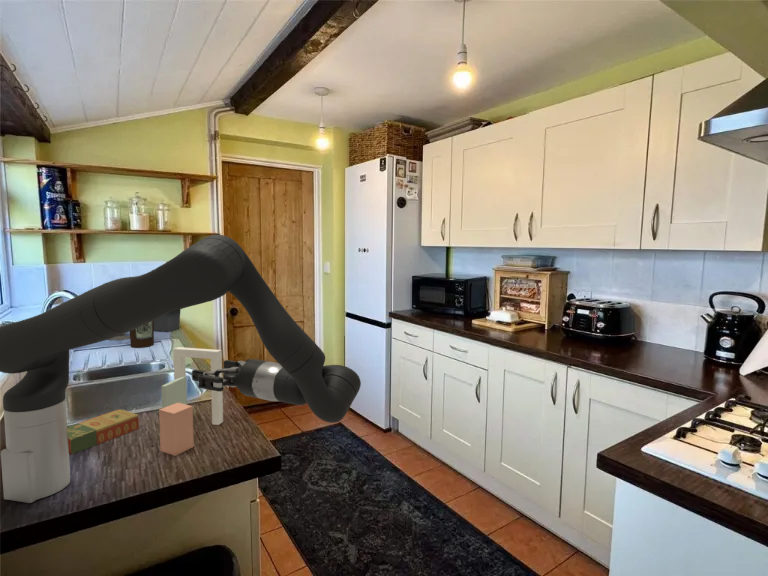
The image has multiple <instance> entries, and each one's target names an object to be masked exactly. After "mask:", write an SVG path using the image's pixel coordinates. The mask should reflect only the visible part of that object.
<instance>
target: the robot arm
mask: <svg viewBox="0 0 768 576" xmlns="http://www.w3.org/2000/svg"><path fill="white" fill-rule="evenodd" d="M227 293H230V294H231V295H232V296H233V297H235V298H236V300H238V301H239V303H240V304H241V305H242V306H243V308H244V309H245V310H246V312H247V314H248V315H249V317H250V319H251V320H252V322H253V325H254V327H255V330H256V331H257V333H258V336H259V337H260V340H261V341H262V342H261V343H262V344H263V346H264V347H265V349H266V351H268V353H269V354H270V356H271V357H272V358H273V359H274V360H275V361H276V362H275V361H268V360H262V359H253V358H252V359H251V358H247V359H245V361H244V360H238V361H236V360H229V359H226V360H224V361H223V368H222V369H217V370H216V371H214V372H211V371H207V370H201V369H194V370H191V379H192V381H195V382H198V385H197V386H198V388H199V389H203V390H209V391H211V390H213V391H219V392H220V391H222V392H223V391H224V387H229V388H237V389H238V391H239V392H240V393H241V394H242V395H244V396H246V397H251V398H256V399H261V400H265V401H269V402H281V403H285V404H286V403H287V404H290V405H296V406H303V405H306V404H307V405H308V407H309V409H310V410H311V411H312V413H313V414H314V415H315V416H316V417H317V418H318V419H319V420H321V421H322V422H323V421H324V422H326V423H329V424H330V423H331V424H335V423H338V422H340V421H342V420H343V418H344V417H345V416H346V414H347V413H348V411H349V409H350V407H351V406H352V404H353V402H354V400H355V399H356V397H357V395H358V393H359V391H360V389H361V387H362V386H361V381H362V380H361V379H360V375H359V374H357V372H356V371H355V370H353V369H352V368H350V367H349V366H344V365H341V364H329V365H325V362H326V355H325V352H324V351H323V350H322V349H321V347H319V346H318V344H317V343H316V342H315V341H314V340H313V339H312V338H311V337H310V336H309V335H308V333H306V332H305V331H304V329H303V328H302V327H300V325H299V324H298V323H297V322H296V321H295V320H294V319H293V317H292V316H291V314H290V313H289V312H288V311H287V310H286V308H285V307H284V306H283V304H281V302H280V301H279V299H278V297H276V295H275V294H274V293H273V291H272V289H271V288H270V287H269V285H268V284H267V282H266V281H265V279H264V278H263V277H262V275H261V273H260V272H259V270H258V268H257V267H256V266H255V265H254V264H253V262H252V261H251V259H250V257H249V256H248V255H247V253H246V252H245V250H244V249H243V248H242V246H241V245H239V243H238V242H237V241H235V240H234V239H233V238H231V237H229V236H226V235H224V234H211V235H208V236H206V237H204V238H202V239H200V240H199V241H197V242H195V243H194V244H192V245H191V246H189V247H187V248H185V249H184V250H183V251H181V252H180V253H179V254H177V255H175V256H174V257H173V258H172V259H170V260H168V261H166V262H165V263H163V264H162V265H159V266H158V267H156V268H154V269H151V270H150V271H148V272H146V273H144V274H141V275H135V276H128V277H120V278H116V279H114V280H111V281H107V282H105V283H102V284H100V285H98V286H96V287H93V288H91V289H89V290H87V291H85V292H83V293H81V294H78V295H77V296H75V297H73V298H70V299H68V300H66V301H64V302H62V303H60V304H58V305H55V306H54V307H52V308H49V309H48V310H46V311H44V312H42V313H40V314H37V315H34V316H32V317H28V318H26V319H21V320H19V321H18V320H17V321H14V322H12V323H8V324H7V323H6V324H3V325H2V326H1V325H0V373H3V374H11V375H12V374H21V373H26V374H25V375H24V377H22V378H21V379H20V381H18V382H17V383H16V384H14V385H13V386H12V387H10V388H9V389H8V390H7V391H5V393H4V394H3V397H2V406H3V407H2V408H3V419H4V420H3V421H4V433H5V434H4V435H5V447H6V448H4V449H2V450H0V462H1V464H0V466H1V474H2V475H1V477H2V491H3V500H7V501H13V502H21V503H26V504H31V503H34V502H35V501H37V500H40V499H43V498H47V497H49V496H52V495H55V494H56V493H58V492H61V491H62V490H64V489H65V488H66V487H67V486H68V485H69V484H70V482H71V470H70V467H71V466H70V454H69V448H68V431H67V427H68V417H67V414H68V413H67V399H66V391H67V389H68V386H69V382H70V350H71V349H77V348H81V347H85V346H89V345H93V344H97V343H101V342H104V341H107V340H108V339H111V338H114V337H117V336H119V335H122V334H124V333H125V334H126V333H130V331H132V330H134V329H136V328H138V327H140V326H143V325H145V324H147V323H149V322H151V321H153V320H155V319H157V318H159V317H161V316H162V315H164V314H167V313H169V312H172V311H175V310H179V309H181V310H184V309H185V308H188V307H189V308H190V307H193V306H197V305H201V304H205V303H208V302H212V301H215V300H217V299H219V298H221V297H223V296H225V295H226V294H227ZM108 341H109V340H108ZM220 373H222V378H221V377H220ZM211 375H214V376H211Z"/></svg>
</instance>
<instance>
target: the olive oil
mask: <svg viewBox="0 0 768 576" xmlns="http://www.w3.org/2000/svg"><path fill="white" fill-rule="evenodd" d="M154 333H155V331H154V320H153V321H151V322H149V323H147V324H145V325H143V326H140V327H138V328H136V329H134V330H132V331H129V335H130V339H129V341H130V347H131V348H133V349H134V348H135V349H139V348H140V349H141V348H149V347H152V346H154V345H155V334H154Z"/></svg>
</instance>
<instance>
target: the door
mask: <svg viewBox="0 0 768 576" xmlns="http://www.w3.org/2000/svg"><path fill="white" fill-rule="evenodd" d="M187 388H188V387H187V376H186V377H184V376H182V377H180V378H178V379H175V380H174V379H172V380H171V381H169V382H166V383H165V384H162V385H161V409H162V408H165V407H167V406H170V405H173V404H175V403H182V404H186V405H188V397H187V396H188V391H187V390H188V389H187Z"/></svg>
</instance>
